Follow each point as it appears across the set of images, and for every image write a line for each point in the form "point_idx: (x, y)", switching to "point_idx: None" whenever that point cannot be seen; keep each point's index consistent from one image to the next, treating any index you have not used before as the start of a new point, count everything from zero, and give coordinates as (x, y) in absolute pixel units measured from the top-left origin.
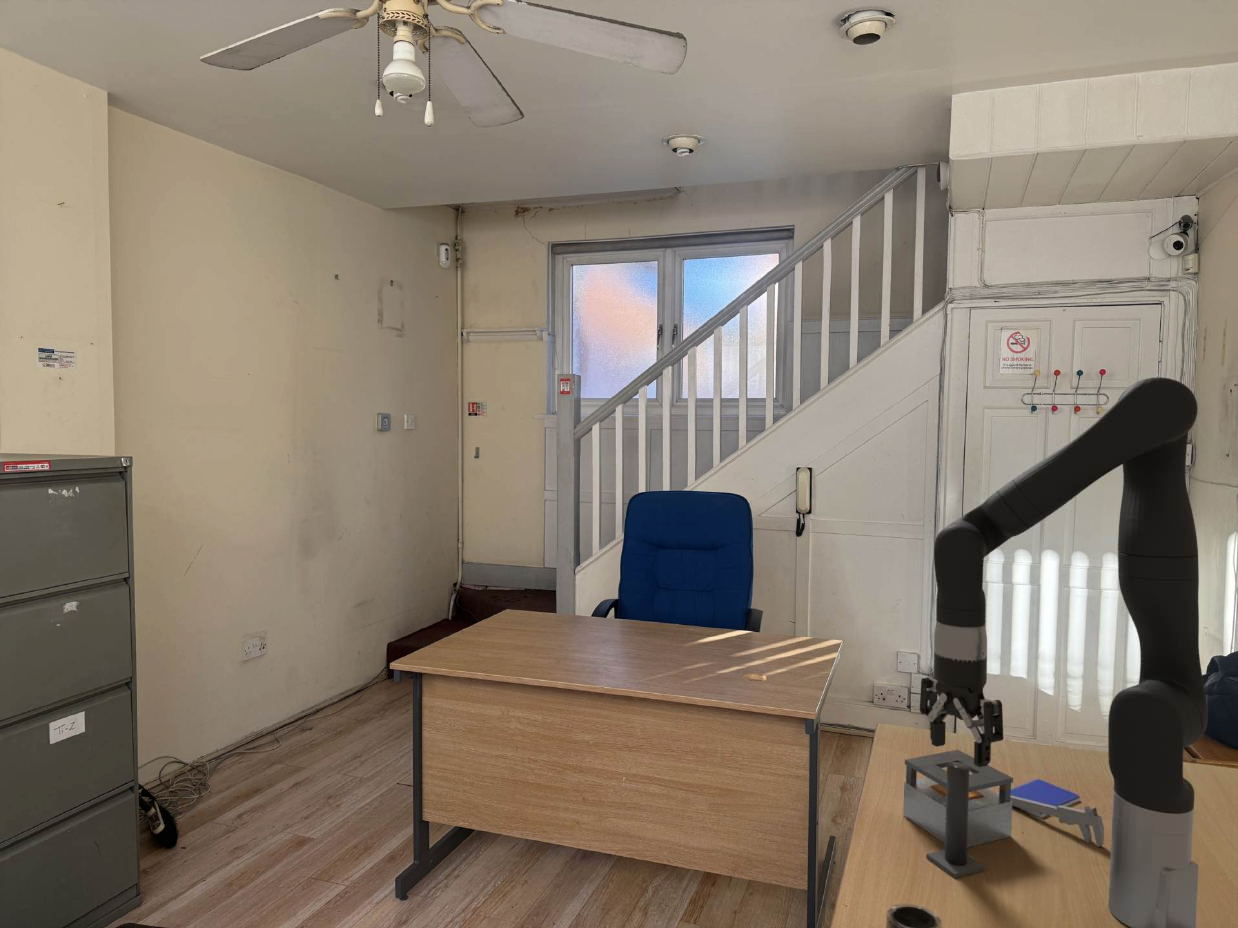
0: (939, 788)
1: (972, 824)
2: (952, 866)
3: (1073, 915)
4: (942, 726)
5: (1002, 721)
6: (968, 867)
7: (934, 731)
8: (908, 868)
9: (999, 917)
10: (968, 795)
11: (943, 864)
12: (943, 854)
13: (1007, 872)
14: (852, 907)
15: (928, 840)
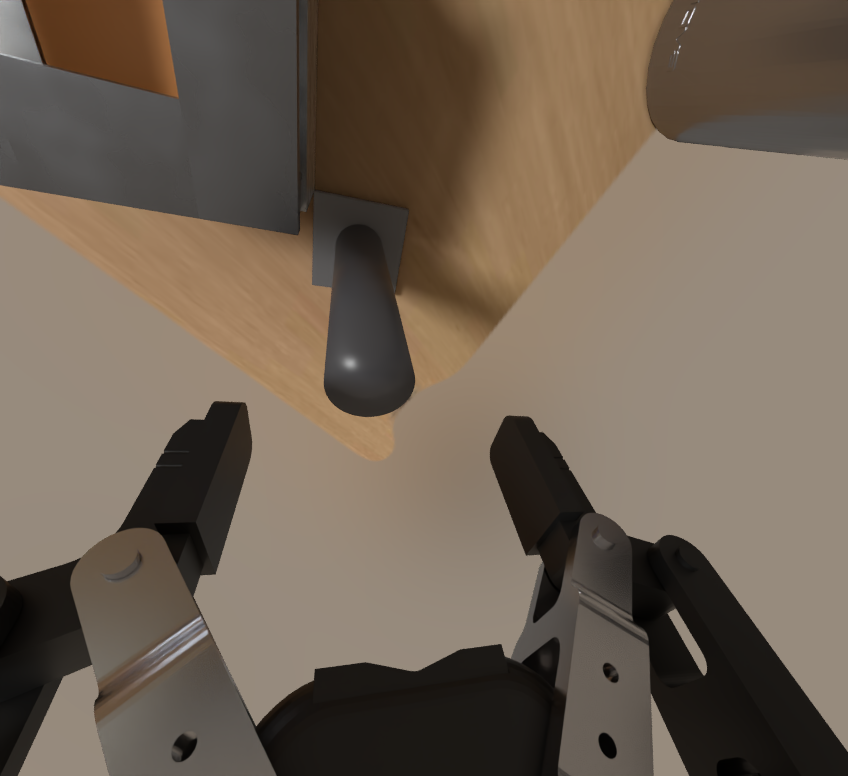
0: (93, 69)
1: (311, 124)
2: None
3: (586, 203)
4: (213, 511)
5: (800, 691)
6: (392, 250)
7: (228, 524)
8: None
9: (497, 321)
10: (398, 312)
11: None
12: (329, 253)
13: (441, 167)
14: (369, 454)
15: None
